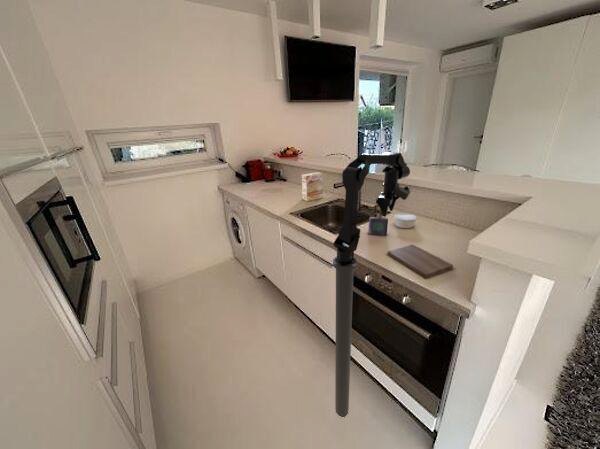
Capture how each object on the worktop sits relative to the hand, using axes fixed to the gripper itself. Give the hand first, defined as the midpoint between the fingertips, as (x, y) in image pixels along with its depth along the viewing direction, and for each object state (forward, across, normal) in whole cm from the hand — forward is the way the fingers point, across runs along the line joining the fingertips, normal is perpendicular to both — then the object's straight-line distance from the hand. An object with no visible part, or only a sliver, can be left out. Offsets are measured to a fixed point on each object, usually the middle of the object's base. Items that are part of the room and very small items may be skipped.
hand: (388, 213), depth 116 cm
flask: (+13, +3, +5) cm, 15 cm away
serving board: (+13, -14, -18) cm, 27 cm away
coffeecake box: (+13, +42, +72) cm, 84 cm away
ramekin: (+13, +21, -3) cm, 25 cm away
